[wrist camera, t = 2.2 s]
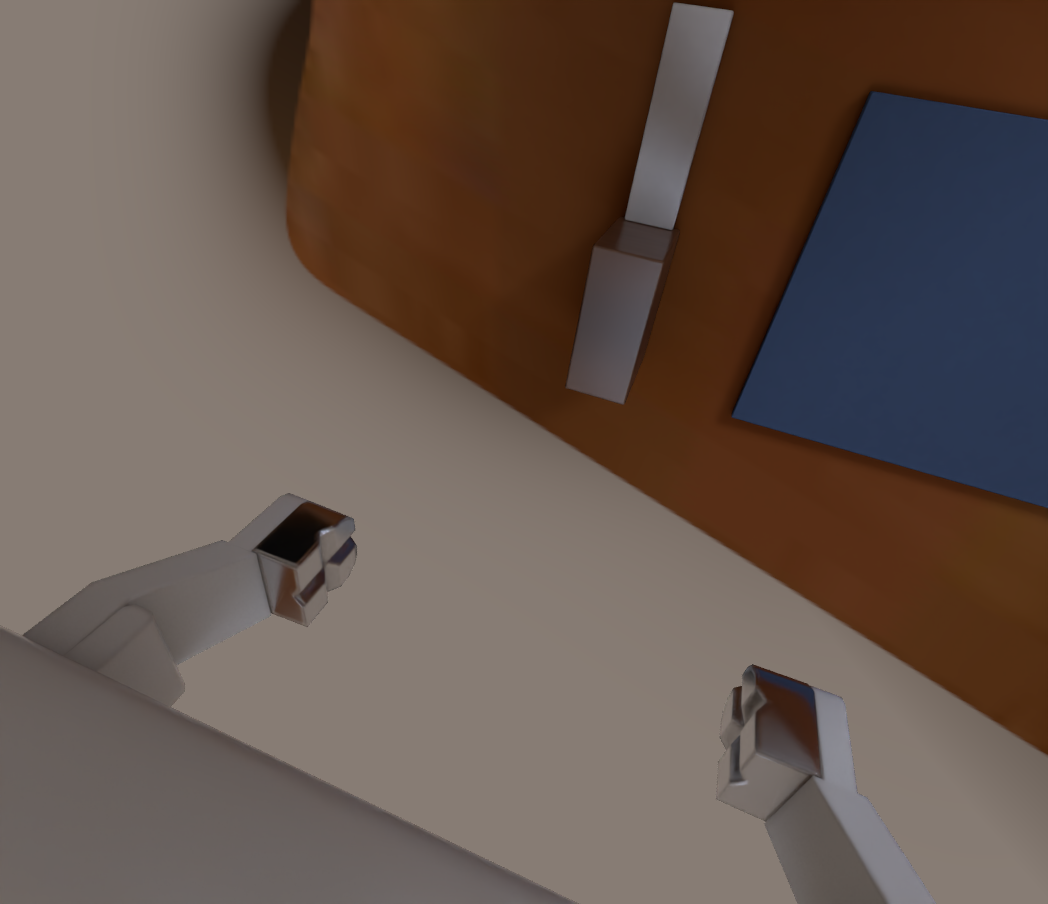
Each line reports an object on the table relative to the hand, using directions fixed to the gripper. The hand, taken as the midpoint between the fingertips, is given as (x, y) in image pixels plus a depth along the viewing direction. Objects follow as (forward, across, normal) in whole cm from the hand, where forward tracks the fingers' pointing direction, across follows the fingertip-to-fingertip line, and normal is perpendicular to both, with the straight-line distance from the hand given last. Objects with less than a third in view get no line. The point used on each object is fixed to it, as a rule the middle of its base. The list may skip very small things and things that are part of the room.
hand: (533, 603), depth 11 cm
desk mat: (+18, -15, -2) cm, 23 cm away
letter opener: (+18, +1, -4) cm, 18 cm away
